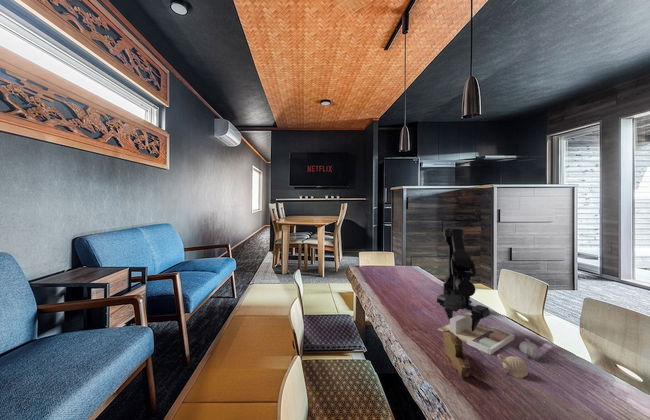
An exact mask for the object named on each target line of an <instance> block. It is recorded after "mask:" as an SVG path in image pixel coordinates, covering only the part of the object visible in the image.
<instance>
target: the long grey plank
mask: <svg viewBox="0 0 650 420" xmlns="http://www.w3.org/2000/svg"><path fill="white" fill-rule="evenodd" d="M471 315H472V313H471V312H468V311H465V312H463V313H460V314H458V315H455V316H453V317H452V318H451V319H450V321H449V324H450V332H453V333H455V334H457V333H459V332H461V331H463V330H465V329H467V328H469V327H471V326H472V318H471Z"/></svg>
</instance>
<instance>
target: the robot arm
mask: <svg viewBox="0 0 650 420" xmlns="http://www.w3.org/2000/svg"><path fill="white" fill-rule="evenodd" d="M443 238H444V241H445V242H446V244H447V245H448V249H447V251H448V258H447V259H448V264H447V265H448V271H447V272H448V274H447V276H446V277H445V278H444V282H443V283H442V294H439V295H438V296H437V297H436V303H437V304H439V306H441V307H442V308H443V309H444V311H445V313H446V315H447V316H446V317H447V319H448V321H449V322H450V319H451V318H453V317H454V316H453V315H454V314H453V313H455V312H459V310H461V311H463V310H467V311H470V313H472V315H471V318H472V331H474V330H475V329H476V327H477V325H479V323H480V321H481V320H482V319H485V318H487V317H489V316H490V315H491V313H490V312H491V311H490V309H489V307H487V306H484V305H480V304H477V305H475V306H474V305H471V304H472V300H471V297H472V296H474V294H475V293H476V286H475V285H474V283H473V282H472V279H471V278H476V275H477V270H476V265H475V262H474V260H473V259H472V258H471V254H470V253H468V252H467V251H466V247H465V243H464V238H465V229H463V228H460V227H446V229H443Z"/></svg>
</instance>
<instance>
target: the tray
mask: <svg viewBox="0 0 650 420" xmlns="http://www.w3.org/2000/svg"><path fill="white" fill-rule="evenodd" d="M490 331H491V332H492V333H493V332H498V333H500V334H503V335H506V336H508V337H506V338H505V339H503V340H501V341H500V342H498V343H497V344H495V345H493V346H492V347H490V348H487V347H485V346H483V345H481V344H479V342H475V341H473V340H469V339H467V343H466V345H468V346H471V347H473V348H475V349H476V350H479V351H481V352H483V353H485V354H488V355H489V356H490V355H492V354H494V353H495V352H497V351H498V350H500V349H501V348H503V347H504V346H506V345H508V344H509V343H511V342H512V341H514V340H515V338H516V334H514V333H511V332H508V331H506V330H503V329H501V328H497V327H496V326H494V325H493V326H492V325H491V326H490Z"/></svg>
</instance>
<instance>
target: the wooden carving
mask: <svg viewBox="0 0 650 420" xmlns="http://www.w3.org/2000/svg"><path fill="white" fill-rule="evenodd" d="M442 336H443V337H442V338H441V341H442V342H443V344H444V346H443V348H444V351H445V353H446V355H447V356H448V358H449V363H450V365H451V366H452V367H453V369H454V370H456V371H457V373H458V374H459V376H460V377H461V378H466V377H467V378H469V377H470V373H471V372H472V367H471V363H470V361H469V360H468V357H467V356H464V355H463V352H464V350H463V346H464V345H463V341H461V339H460V338H458V337H457V336H455V335H454V334H453V332H450V330H448V331H445V330H444V331H443V332H442Z"/></svg>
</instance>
